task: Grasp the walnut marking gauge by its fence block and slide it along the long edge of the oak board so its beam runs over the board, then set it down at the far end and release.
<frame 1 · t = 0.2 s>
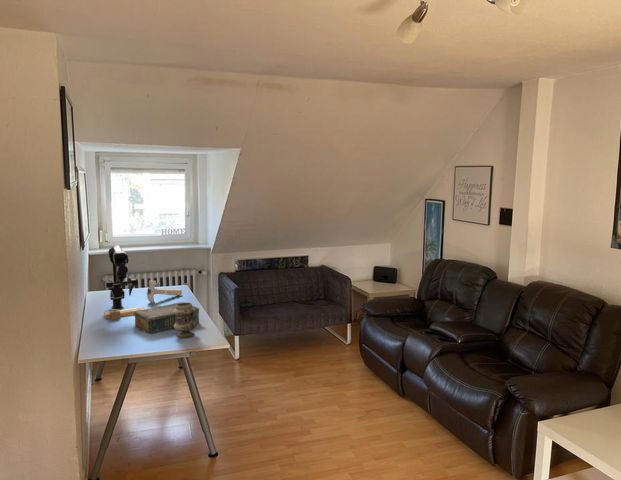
hand: (122, 296, 306), 14 cm above the table, tool pointing down, fingers open, 9 cm apart
hammer: (165, 299, 355), on the table
board: (125, 314, 315), on the table
apothecary jar: (185, 335, 273), on the table
metal box: (167, 325, 292), on the table
marking gauge: (115, 318, 306), on the table
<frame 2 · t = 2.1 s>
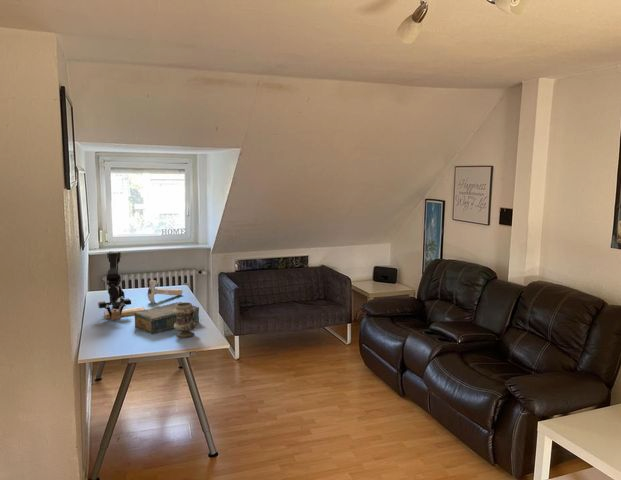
hand: (115, 316, 306), 1 cm above the table, tool pointing down, fingers closed on marking gauge, 5 cm apart
marking gauge: (115, 318, 306), on the table, touching gripper
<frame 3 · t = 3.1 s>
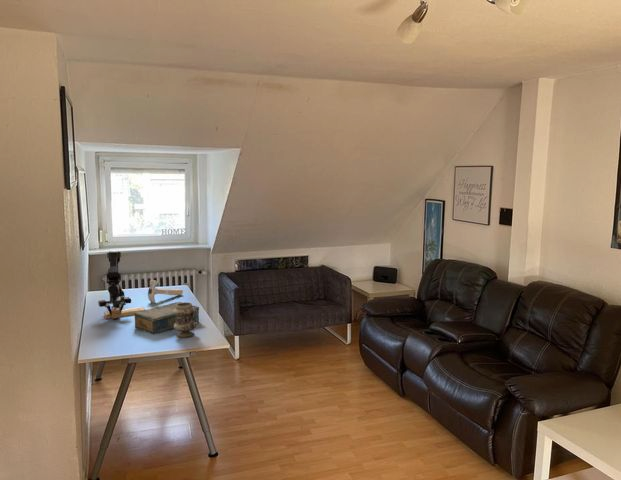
hand: (115, 315, 306), 2 cm above the table, tool pointing down, fingers closed on marking gauge, 5 cm apart
marking gauge: (115, 317, 306), point 1 cm above the table, touching gripper
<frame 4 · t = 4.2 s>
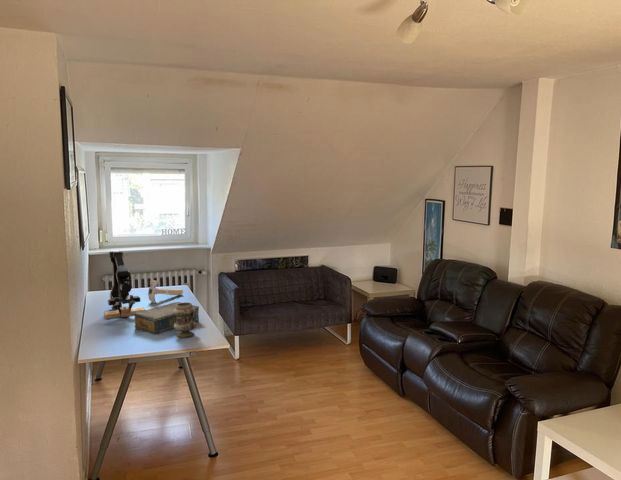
hand: (124, 313, 309), 2 cm above the table, tool pointing down, fingers closed on marking gauge, 5 cm apart
marking gauge: (125, 315, 309), point 1 cm above the table, touching gripper
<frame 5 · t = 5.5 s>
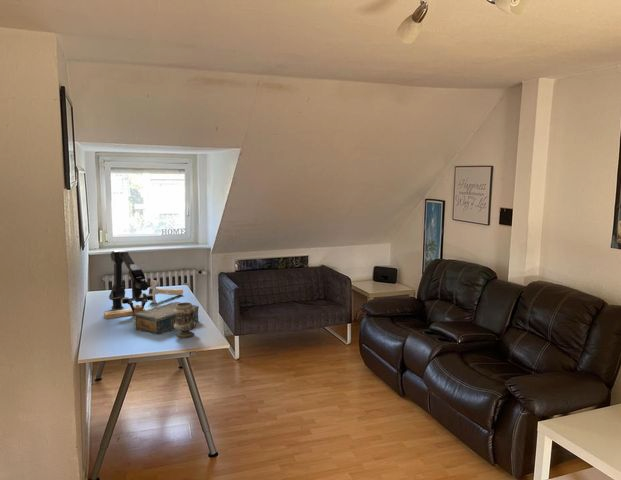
hand: (137, 312, 313), 2 cm above the table, tool pointing down, fingers closed on marking gauge, 5 cm apart
marking gauge: (137, 313, 313), point 1 cm above the table, touching gripper
when the fingers open (1 cm above the table, at t = 6.4 s): marking gauge stays where it is, on the table.
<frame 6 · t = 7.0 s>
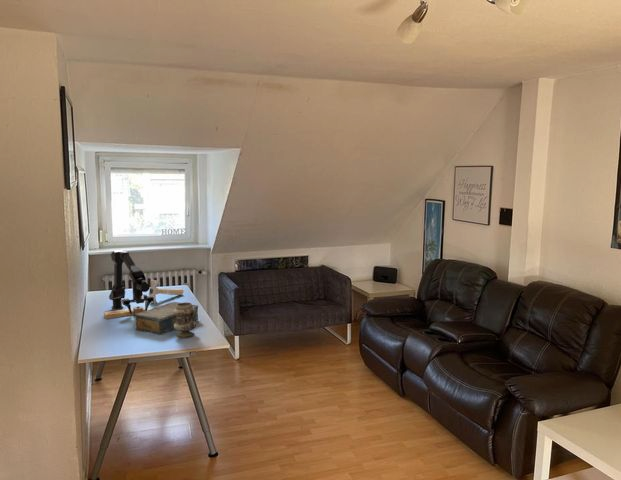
hand: (138, 313, 313), 1 cm above the table, tool pointing down, fingers open, 9 cm apart
marking gauge: (138, 315, 313), on the table
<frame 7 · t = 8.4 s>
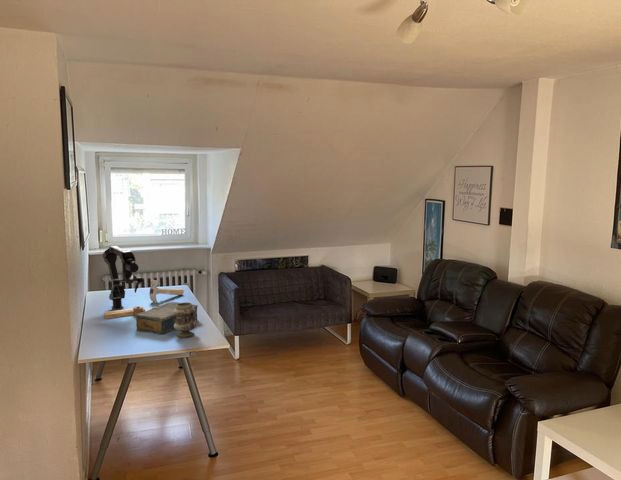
hand: (128, 293, 319), 13 cm above the table, tool pointing down, fingers open, 9 cm apart
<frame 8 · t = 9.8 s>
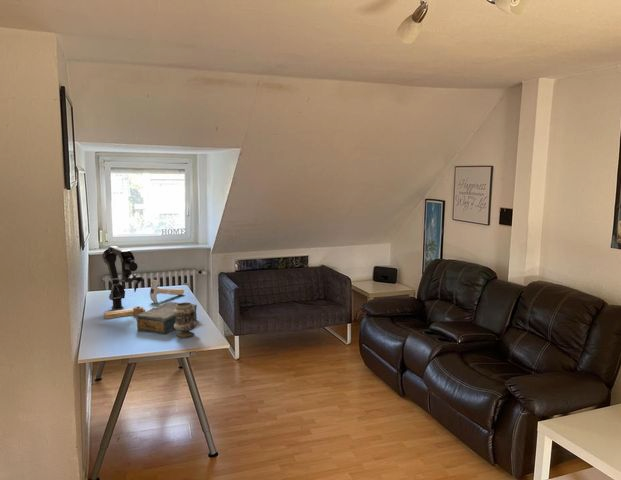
hand: (127, 292, 319), 13 cm above the table, tool pointing down, fingers open, 9 cm apart
at the end: marking gauge 0.4 cm from the target spot, on the table; the gripper is holding nothing; marking gauge tilted 0° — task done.
